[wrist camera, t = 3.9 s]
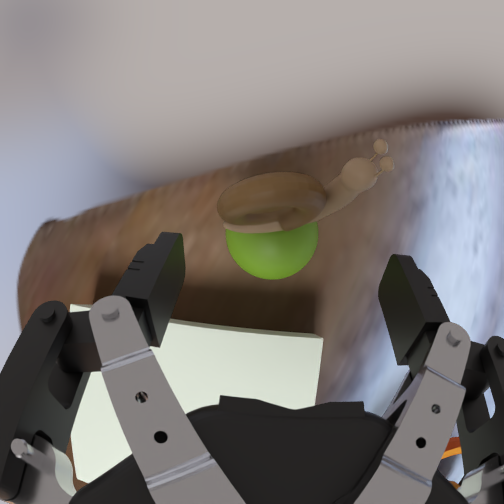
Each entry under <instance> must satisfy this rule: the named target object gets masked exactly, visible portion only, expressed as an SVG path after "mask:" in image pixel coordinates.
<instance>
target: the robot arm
mask: <svg viewBox="0 0 504 504" xmlns="http://www.w3.org/2000/svg"><path fill="white" fill-rule="evenodd" d="M184 278H185V258H184V246H183V237H182V234H181V233H170V232H161V233H160V235H159V237H158V238H157V240H156V242H155V244H147V245H145V246H144V247H143V248H141V249H140V250H139V251H138V252H137V253H136V255H135V257H134V258H133V260H132V262H131V263H130V265H129V266H128V270H126V271H125V273H124V275H123V277H122V278H121V280H120V282H119V283H118V285H117V287H116V289H115V290H114V292H113V294H112V295H111V296H107V297H104V298H102V299H100V300H98V301H97V302H96V303H94V304H93V306H92V307H91V309H90V310H88V311H78V312H68V310H67V308H66V306H65V305H64V304H63V303H62V302H60V301H48V302H45V303H43V304H42V305H40V306H39V307H38V308H37V309H36V310H35V311H34V313H33V314H32V316H31V317H30V319H29V321H28V323H27V324H26V326H25V328H24V329H23V331H22V333H21V335H20V337H19V338H18V340H17V342H16V344H15V346H14V348H13V350H12V352H11V353H10V355H9V357H8V359H7V361H6V363H5V365H4V367H3V369H2V371H1V373H0V500H2V501H4V502H7V503H9V504H504V339H503V338H501V337H499V336H492V337H491V338H490V339H489V340H488V341H487V342H486V344H485V345H483V344H479V343H476V342H472V341H470V337H469V335H468V333H467V332H466V331H465V330H464V329H463V328H462V327H461V326H459V325H458V324H455V323H452V322H450V320H449V318H448V316H447V314H446V311H445V309H444V307H443V305H442V303H441V301H440V299H439V297H437V296H438V295H437V293H436V291H435V289H434V287H433V285H432V283H431V281H430V279H429V278H428V277H427V275H426V274H425V273H424V272H423V271H422V270H421V269H418V268H417V266H416V264H415V262H414V260H413V258H412V257H411V256H407V255H398V254H393V255H392V256H391V257H390V259H389V262H388V264H387V267H386V270H385V272H384V275H383V277H382V280H381V282H380V285H379V290H378V297H379V302H380V305H381V308H382V311H383V315H384V318H385V321H386V325H387V328H388V332H389V335H390V339H391V342H392V346H393V350H394V353H395V357H396V361H397V365H409V368H410V370H409V371H408V372H407V374H406V376H405V378H404V379H403V381H402V383H401V385H400V387H399V389H398V391H397V393H396V395H395V396H394V398H393V400H392V402H391V404H390V405H389V407H388V409H387V410H386V412H385V413H384V415H383V416H382V417H380V416H378V415H376V414H373V413H370V412H366V411H364V403H363V401H360V402H328V403H324V404H320V405H315V406H311V407H306V408H301V409H289V408H286V407H282V406H279V405H275V404H272V403H268V402H265V401H262V400H259V399H252V398H242V397H233V396H224V395H220V398H219V404H216V405H209V406H204V407H201V408H198V409H195V410H193V411H190V412H188V413H186V414H185V412H184V411H183V409H182V407H181V405H180V404H179V402H178V400H177V398H176V396H175V394H174V392H173V391H172V389H171V387H170V385H169V383H168V381H167V379H166V377H165V375H164V373H163V371H162V369H161V367H160V365H159V363H158V361H157V359H156V357H155V355H154V353H153V351H152V350H151V349H150V346H152V347H158V348H160V346H161V343H162V341H163V338H164V335H165V332H166V329H167V326H168V323H169V320H170V318H171V315H172V312H173V309H174V307H175V304H176V301H177V298H178V296H179V293H180V290H181V287H182V285H183V282H184ZM100 371H101V373H102V376H103V379H104V382H105V385H106V388H107V391H108V394H109V397H110V399H111V402H112V405H113V408H114V410H115V413H116V416H117V418H118V421H119V423H120V426H121V428H122V430H123V433H124V435H125V438H126V440H127V442H128V444H129V447H130V449H131V451H132V454H131V455H129V456H128V457H126V458H125V459H124V460H122V461H121V462H119V463H118V464H117V465H115V466H114V467H112V468H111V469H109V470H108V471H106V472H105V473H104V474H102V475H101V476H99V477H98V478H96V479H95V480H93V481H92V482H90V483H89V484H87V485H85V486H84V487H82V488H81V489H80V490H78V491H77V492H76V491H75V488H74V486H73V481H72V479H73V468H72V465H71V462H70V460H69V458H68V457H67V456H66V455H65V452H66V449H67V445H68V442H69V438H70V435H71V431H72V428H73V425H74V422H75V418H76V415H77V412H78V409H79V406H80V403H81V400H82V397H83V394H84V391H85V388H86V386H87V383H88V380H89V377H90V374H91V372H100ZM489 387H490V389H491V392H492V395H493V399H494V402H495V413H494V415H493V417H492V418H491V419H490V416H489V412H488V408H487V404H486V401H485V397H484V392H485V391H486V390H487V389H488V388H489ZM455 423H457V428H458V433H459V439H460V445H461V452H462V459H463V467H464V475H465V477H464V479H463V482H462V486H460V487H459V488H458V489H456V488H455V487H454V486H453V485H452V484H451V483H450V482H449V481H448V480H447V479H446V478H445V477H444V476H443V475H442V474H441V473H440V472H439V471H438V470H437V467H438V465H439V463H440V461H441V458H442V456H443V454H444V451H445V449H446V447H447V444H448V442H449V439H450V436H451V434H452V431H453V429H454V426H455Z"/></svg>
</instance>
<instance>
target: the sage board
mask: <svg viewBox="0 0 504 504" xmlns="http://www.w3.org/2000/svg"><path fill="white" fill-rule="evenodd" d="M92 306H93V305H81V304H71V305H70V312H78V311H88V310H90V309H91V307H92ZM322 345H323V338H321V337H319V336H317V335H315V334H312V333H297V332H284V331H272V330H260V329H250V328H240V327H231V326H222V325H214V324H206V323H198V322H191V321H184V320H177V319H170V320H169V323H168V326H167V329H166V332H165V335H164V338H163V341H162V343H161V346H160V348H158V347H152V346H150V349H151V350H152V351H153V353H154V355H155V357H156V359H157V361H158V363H159V365H160V367H161V369H162V371H163V373H164V375H165V377H166V379H167V381H168V383H169V385H170V387H171V389H172V391H173V392H174V394H175V396H176V398H177V400H178V402H179V404H180V405H181V407H182V409H183V411H184V412H185V414H186V413H188V412H190V411H193V410H195V409H198V408H201V407H204V406H209V405H216V404H219V398H220V395H224V396H233V397H242V398H252V399H259V400H262V401H265V402H268V403H272V404H275V405H279V406H282V407H286V408H289V409H301V408H306V407H311V406H314V405H315V398H316V392H317V384H318V377H319V370H320V362H321V354H322ZM71 440H72V449H73V456H74V463H75V470H76V476H77V479H79V480H82V481H84V482H86V483H90V482H92V481H93V480H95V479H96V478H98V477H99V476H101V475H102V474H104V473H105V472H106V471H108V470H109V469H111V468H112V467H114V466H115V465H117V464H118V463H119V462H121V461H122V460H124V459H125V458H126V457H128V456H129V455H131V454H132V451H131V449H130V447H129V444H128V442H127V440H126V438H125V435H124V433H123V430H122V428H121V426H120V423H119V421H118V418H117V416H116V413H115V410H114V408H113V405H112V402H111V399H110V397H109V394H108V391H107V388H106V385H105V382H104V379H103V376H102V373H101V371H100V372H91V374H90V377H89V380H88V383H87V386H86V388H85V391H84V394H83V397H82V400H81V403H80V406H79V409H78V412H77V415H76V418H75V422H74V425H73V428H72V431H71Z"/></svg>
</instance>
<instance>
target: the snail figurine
mask: <svg viewBox="0 0 504 504" xmlns="http://www.w3.org/2000/svg"><path fill="white" fill-rule="evenodd" d="M373 147H374V150H375V152H376V153H375V155H374V156H373V157H372V158H370V159H366V158H354V159H351V160H350V161H348V162H347V163H346V164H345V165H344V166H343V168H342V171H341V174H340V175H338V176H337V177H336V178H334V179H333V180H332V181H331V182H330V183H329V184H328V185H327V186H326V187H325V188H323V186H322V185H321V184H320V182H319V181H317V180H316V179H315V178H313V177H311V176H309V175H306V174H302V173H297V172H272V173H265V174H260V175H256V176H252V177H249V178H246V179H244V180H241V181H239V182H237V183H235V184H233V185H232V186H230V187H229V188H228V189H226V190H225V191H224V192H223V193H222V195H221V196H220V198H219V200H218V204H217V209H218V213H219V215H220V217H221V218H222V219H223V220H224V223H223V226H224V227H225V228H226V242H227V246H228V249H229V251H230V254H231V256H232V257H233V259H234V260H235V262H236V263H237V264H238V265H239V266H240V267H241V268H242V269H243V270H245V271H246V272H248V273H249V274H251V275H253V276H256V277H259V278H263V279H282V278H286V277H288V276H291V275H293V274H295V273H297V272H298V271H300V270H301V269H302V268H303V267H304V266H305V265H306V264H307V263H308V262H309V260H310V259H311V257H312V256H313V254H314V252H315V249H316V246H317V242H318V225H317V221H318V220H320V219H322V218H324V217H326V216H328V215H330V214H332V213H334V212H336V211H338V210H340V209H341V208H343V207H345V206H346V205H348V204H349V203H350V202H351V201H353V200H354V199H355V198H356V197H357V195H358V194H359V193H360V192H363V191H366V190H368V189H370V188H371V187H372V186H373V185H374V184H375V183H376V181H377V178H378V176H379V175H380V174H381V173H382V172H383V171H385V172H390V171H392V170H393V169H394V161H393V159H392V158H391V157H389V156H384V157H382V158H381V160H380V167H381V169H382V170H381V171H380V172H379V173H378V170H377V167H376V166H375V164H374V163H373V162H372V160H373V159H374V158H375V157H376V156H377V154H385V153H386V152H387V151H388V145H387V143H386V141H385V140H383V139H378V140H376V141H375V142H374V145H373Z"/></svg>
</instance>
